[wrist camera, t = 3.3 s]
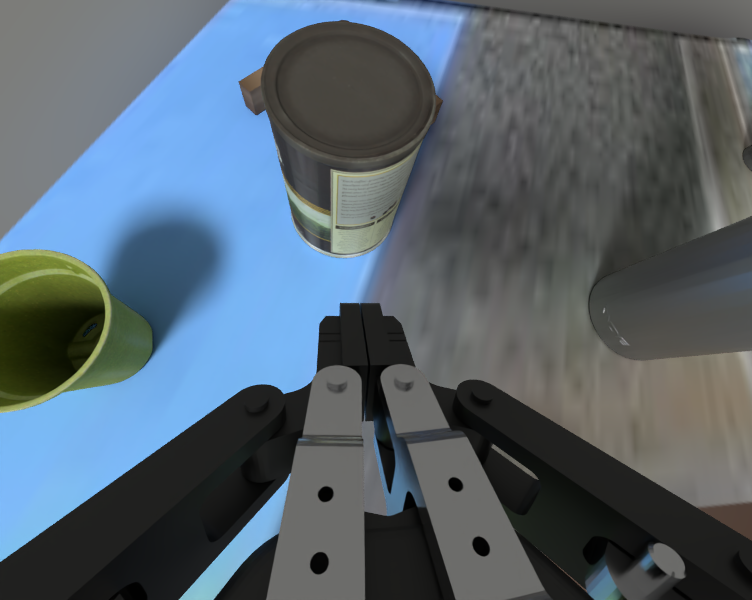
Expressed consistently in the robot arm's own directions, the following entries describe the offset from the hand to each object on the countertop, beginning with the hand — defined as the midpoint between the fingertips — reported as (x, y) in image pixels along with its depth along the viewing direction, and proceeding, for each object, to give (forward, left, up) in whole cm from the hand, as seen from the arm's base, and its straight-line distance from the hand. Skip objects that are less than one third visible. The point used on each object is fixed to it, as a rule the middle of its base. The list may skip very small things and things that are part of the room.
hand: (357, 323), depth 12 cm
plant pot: (+17, -8, -17) cm, 25 cm away
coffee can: (-5, -14, -17) cm, 22 cm away
